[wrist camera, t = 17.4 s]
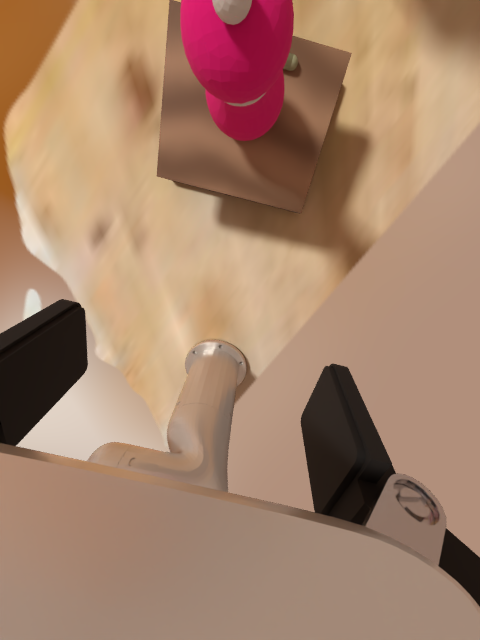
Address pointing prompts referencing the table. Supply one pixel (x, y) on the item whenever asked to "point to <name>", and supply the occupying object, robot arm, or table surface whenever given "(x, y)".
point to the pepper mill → (239, 59)
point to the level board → (254, 155)
